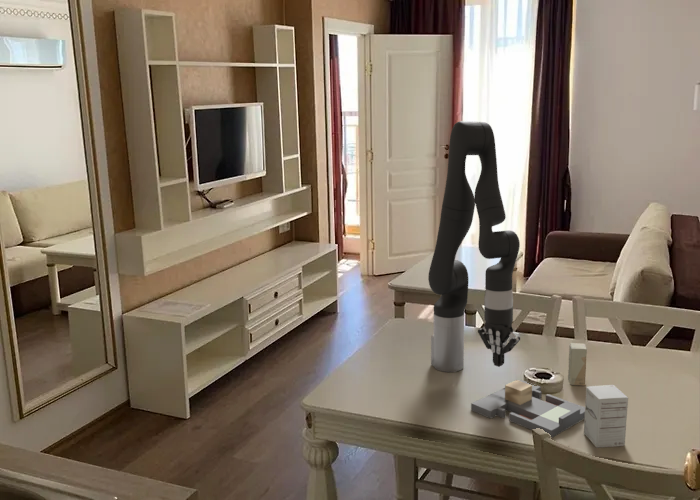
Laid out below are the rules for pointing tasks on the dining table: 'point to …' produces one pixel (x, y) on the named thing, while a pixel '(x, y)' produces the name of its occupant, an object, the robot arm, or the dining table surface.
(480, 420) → the dining table surface
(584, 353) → the box
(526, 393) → the block
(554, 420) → the track
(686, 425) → the dining table surface
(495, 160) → the robot arm
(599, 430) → the supplement box
